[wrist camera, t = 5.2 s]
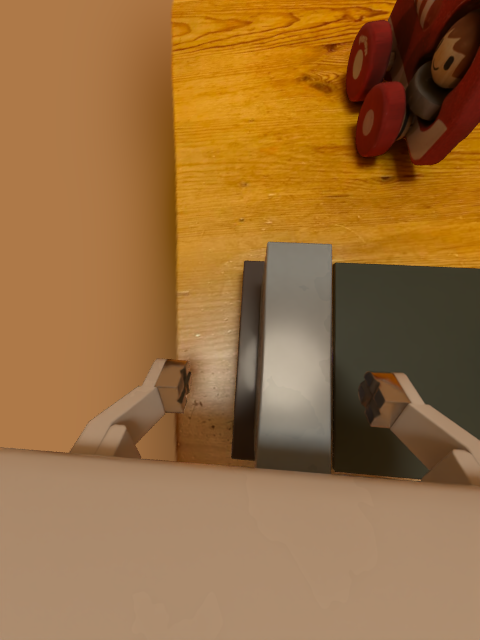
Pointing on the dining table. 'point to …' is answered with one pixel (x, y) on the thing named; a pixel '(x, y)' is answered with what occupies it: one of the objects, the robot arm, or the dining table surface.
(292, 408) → the eraser
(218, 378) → the dining table surface
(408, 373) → the chalkboard
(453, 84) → the toy fire truck
